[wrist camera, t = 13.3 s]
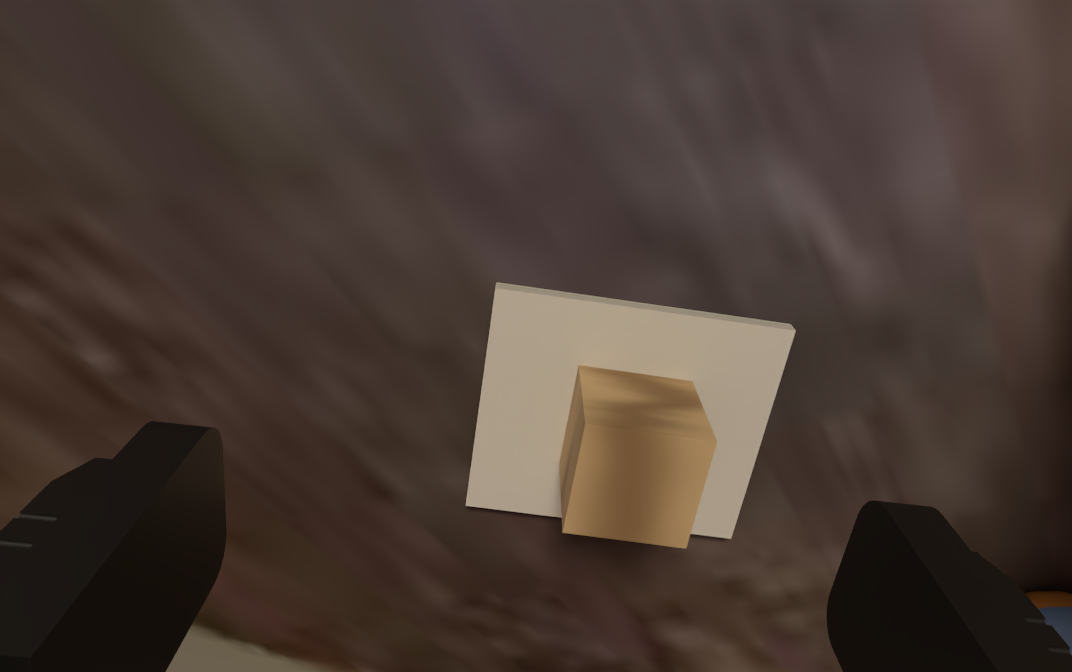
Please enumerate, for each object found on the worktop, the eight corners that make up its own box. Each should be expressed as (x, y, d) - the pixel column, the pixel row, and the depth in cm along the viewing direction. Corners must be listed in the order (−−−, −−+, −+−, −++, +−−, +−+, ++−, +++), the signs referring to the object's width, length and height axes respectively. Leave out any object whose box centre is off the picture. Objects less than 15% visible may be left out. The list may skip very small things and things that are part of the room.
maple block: (692, 380, 36) (717, 441, 31) (666, 477, 39) (686, 548, 34) (578, 364, 36) (585, 423, 31) (559, 462, 38) (562, 532, 33)
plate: (790, 324, 36) (795, 330, 35) (727, 529, 41) (731, 538, 40) (496, 282, 35) (495, 287, 35) (466, 496, 40) (465, 505, 39)
